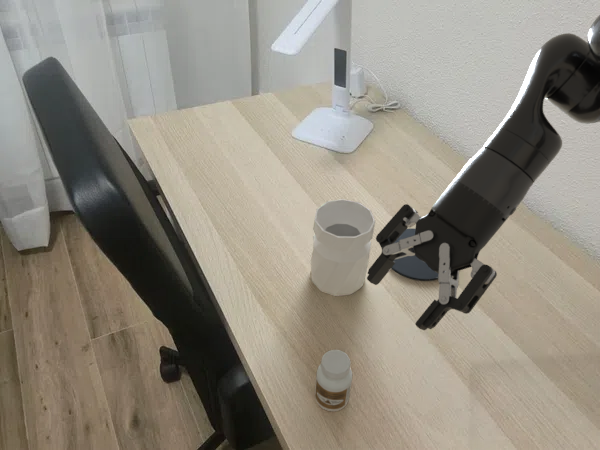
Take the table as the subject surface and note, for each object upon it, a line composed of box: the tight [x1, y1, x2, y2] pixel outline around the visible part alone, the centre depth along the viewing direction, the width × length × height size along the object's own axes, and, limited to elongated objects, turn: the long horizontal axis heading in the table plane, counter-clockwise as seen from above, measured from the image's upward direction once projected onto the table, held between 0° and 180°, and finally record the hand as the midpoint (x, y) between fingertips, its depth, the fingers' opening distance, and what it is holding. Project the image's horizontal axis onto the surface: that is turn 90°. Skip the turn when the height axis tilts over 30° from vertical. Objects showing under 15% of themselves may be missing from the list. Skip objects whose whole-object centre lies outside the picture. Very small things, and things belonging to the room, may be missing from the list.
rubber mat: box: [390, 228, 438, 282], centre depth 91 cm, size 12×12×1 cm
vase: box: [310, 198, 376, 297], centre depth 82 cm, size 9×9×12 cm
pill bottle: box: [314, 349, 353, 412], centre depth 68 cm, size 4×4×8 cm
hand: (394, 304), depth 66 cm, fingers open, 8 cm apart
